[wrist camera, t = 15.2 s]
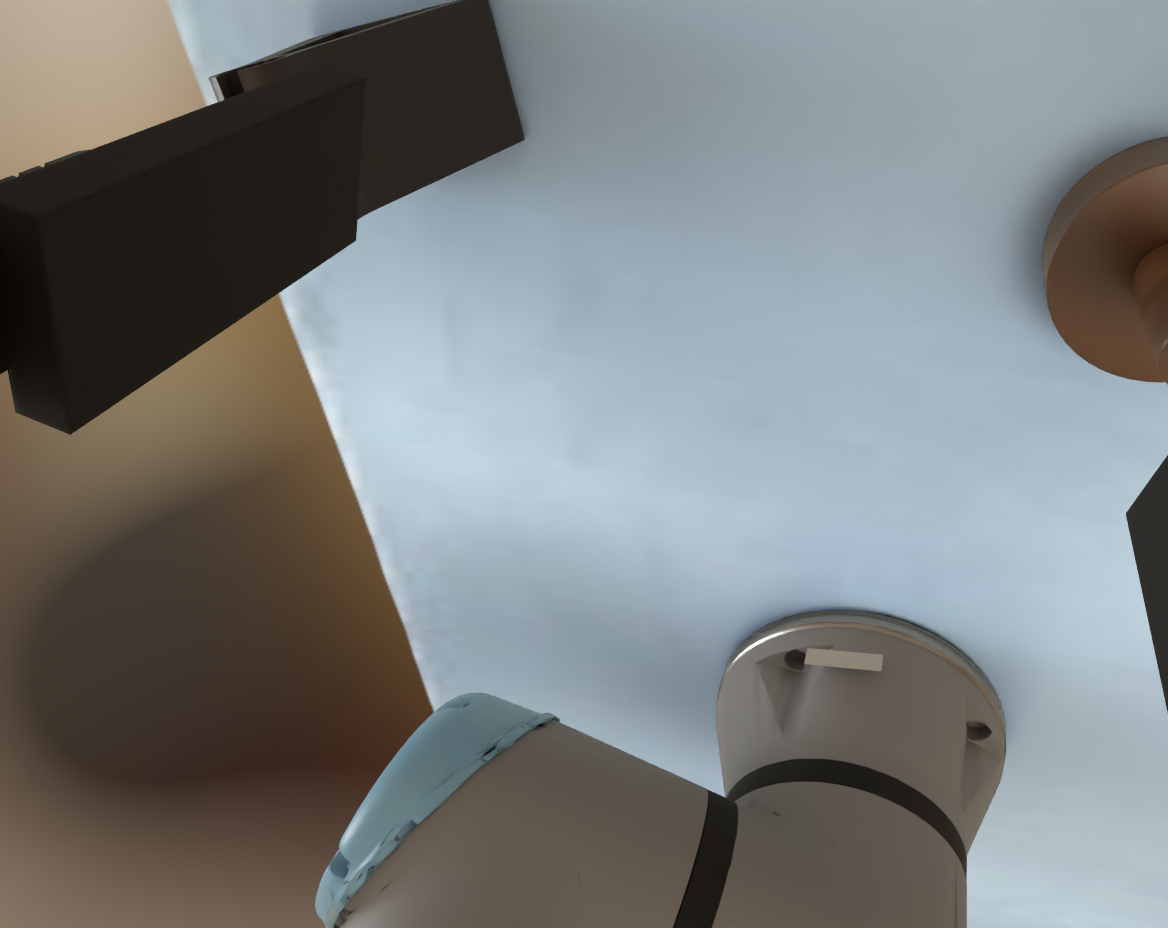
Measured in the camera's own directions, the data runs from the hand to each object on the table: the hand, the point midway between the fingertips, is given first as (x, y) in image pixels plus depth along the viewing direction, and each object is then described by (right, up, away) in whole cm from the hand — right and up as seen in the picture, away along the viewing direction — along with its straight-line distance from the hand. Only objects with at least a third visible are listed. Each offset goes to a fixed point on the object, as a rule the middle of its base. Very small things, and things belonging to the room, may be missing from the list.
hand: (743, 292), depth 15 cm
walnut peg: (+20, +6, +22) cm, 30 cm away
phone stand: (-10, +14, +29) cm, 33 cm away
